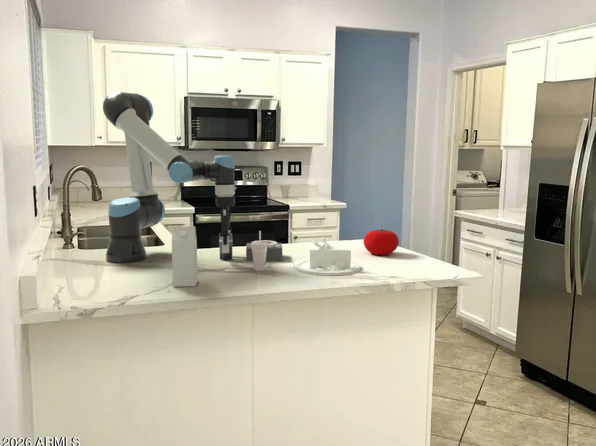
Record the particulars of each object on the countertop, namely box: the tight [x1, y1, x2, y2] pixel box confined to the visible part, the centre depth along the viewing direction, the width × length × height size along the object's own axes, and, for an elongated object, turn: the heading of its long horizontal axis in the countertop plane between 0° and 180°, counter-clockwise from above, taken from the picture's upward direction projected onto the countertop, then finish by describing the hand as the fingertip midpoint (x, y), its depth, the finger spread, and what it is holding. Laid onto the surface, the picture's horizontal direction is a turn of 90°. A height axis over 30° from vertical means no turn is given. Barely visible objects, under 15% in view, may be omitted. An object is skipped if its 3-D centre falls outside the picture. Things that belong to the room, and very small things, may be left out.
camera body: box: [245, 239, 283, 262], centre depth 221 cm, size 14×11×6 cm
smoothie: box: [251, 230, 268, 272], centre depth 201 cm, size 6×6×14 cm
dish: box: [292, 235, 361, 277], centre depth 205 cm, size 25×25×11 cm
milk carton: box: [171, 225, 198, 288], centre depth 180 cm, size 7×7×19 cm
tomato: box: [363, 228, 400, 256], centre depth 230 cm, size 14×13×10 cm
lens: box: [218, 232, 234, 261], centre depth 219 cm, size 5×5×10 cm
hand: (226, 249), depth 219 cm, fingers open, 13 cm apart
